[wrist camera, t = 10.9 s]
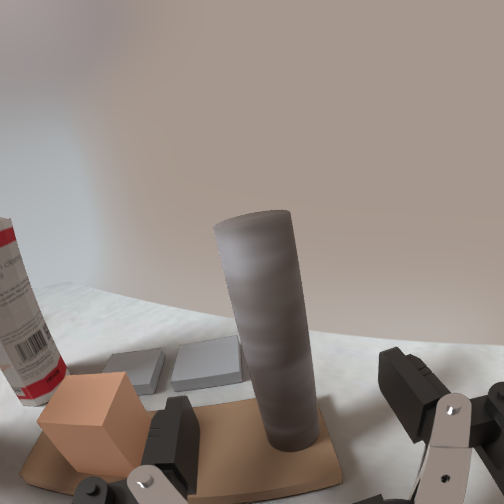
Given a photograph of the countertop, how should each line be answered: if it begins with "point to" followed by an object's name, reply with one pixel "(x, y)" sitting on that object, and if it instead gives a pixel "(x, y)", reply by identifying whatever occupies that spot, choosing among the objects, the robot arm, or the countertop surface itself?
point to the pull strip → (217, 460)
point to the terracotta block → (97, 423)
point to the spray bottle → (24, 330)
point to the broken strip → (182, 365)
